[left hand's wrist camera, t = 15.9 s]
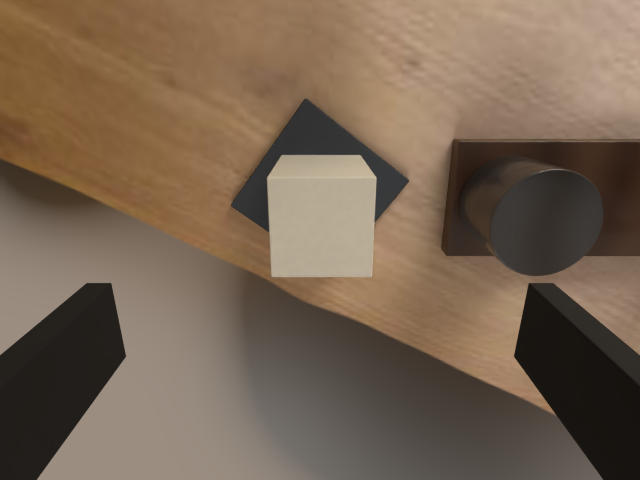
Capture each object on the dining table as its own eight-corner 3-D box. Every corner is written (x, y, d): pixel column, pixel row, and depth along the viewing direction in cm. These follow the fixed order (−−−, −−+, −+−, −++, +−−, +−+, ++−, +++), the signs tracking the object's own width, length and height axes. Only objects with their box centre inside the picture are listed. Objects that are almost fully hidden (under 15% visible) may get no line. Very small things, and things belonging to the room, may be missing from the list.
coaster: (231, 203, 32) (230, 205, 32) (305, 98, 30) (305, 98, 29) (330, 272, 34) (330, 275, 34) (408, 179, 32) (409, 180, 31)
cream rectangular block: (283, 230, 32) (271, 277, 24) (281, 154, 30) (266, 177, 22) (358, 230, 32) (371, 277, 24) (360, 154, 30) (376, 177, 22)
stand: (441, 249, 34) (479, 297, 26) (453, 139, 31) (500, 154, 23) (727, 249, 34) (855, 297, 26) (768, 139, 31) (926, 154, 23)
